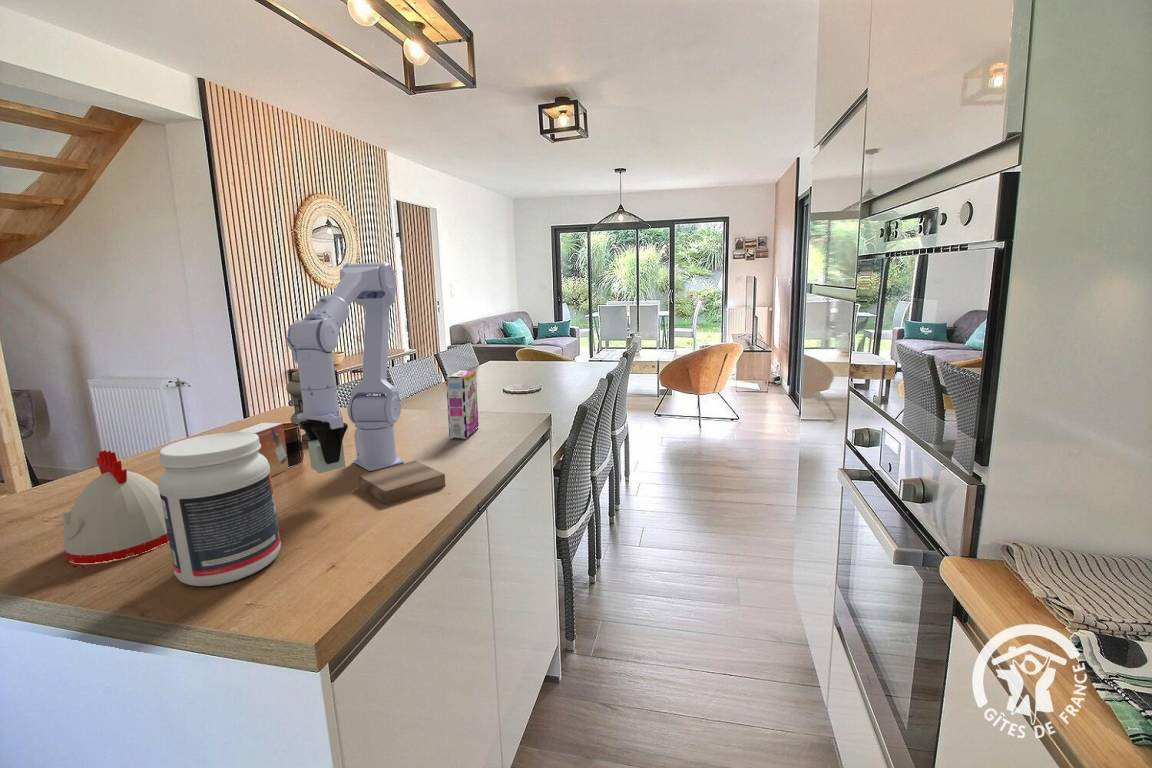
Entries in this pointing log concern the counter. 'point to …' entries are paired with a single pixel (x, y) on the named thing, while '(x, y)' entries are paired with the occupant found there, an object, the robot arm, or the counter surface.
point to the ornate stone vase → (297, 401)
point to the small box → (271, 445)
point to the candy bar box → (462, 404)
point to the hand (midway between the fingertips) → (327, 459)
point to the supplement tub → (218, 508)
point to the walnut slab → (401, 481)
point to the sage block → (319, 461)
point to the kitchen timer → (114, 516)
